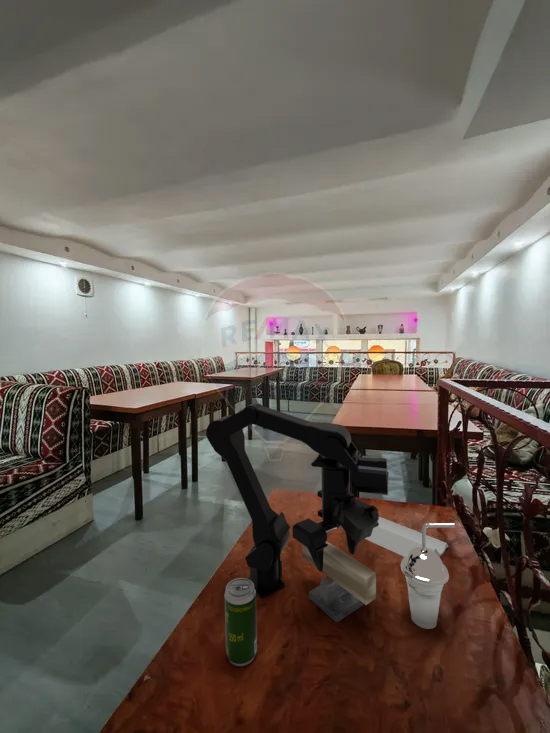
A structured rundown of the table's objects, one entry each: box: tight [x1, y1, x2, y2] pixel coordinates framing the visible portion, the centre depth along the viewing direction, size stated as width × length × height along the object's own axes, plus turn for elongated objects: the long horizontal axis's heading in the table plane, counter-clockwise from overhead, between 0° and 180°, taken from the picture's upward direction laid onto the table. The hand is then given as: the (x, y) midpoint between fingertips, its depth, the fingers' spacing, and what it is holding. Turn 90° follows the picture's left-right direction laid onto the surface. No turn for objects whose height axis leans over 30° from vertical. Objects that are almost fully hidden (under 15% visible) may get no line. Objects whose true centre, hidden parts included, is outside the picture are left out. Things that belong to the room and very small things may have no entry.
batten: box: [302, 540, 377, 606], centre depth 71 cm, size 3×18×5 cm, turn 35°
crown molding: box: [364, 516, 449, 558], centre depth 97 cm, size 31×12×4 cm, turn 43°
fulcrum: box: [308, 575, 365, 624], centre depth 72 cm, size 8×8×6 cm
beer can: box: [223, 577, 258, 667], centre depth 60 cm, size 5×5×12 cm
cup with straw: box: [400, 522, 456, 630], centre depth 66 cm, size 8×9×20 cm
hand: (336, 562), depth 71 cm, fingers open, 9 cm apart
